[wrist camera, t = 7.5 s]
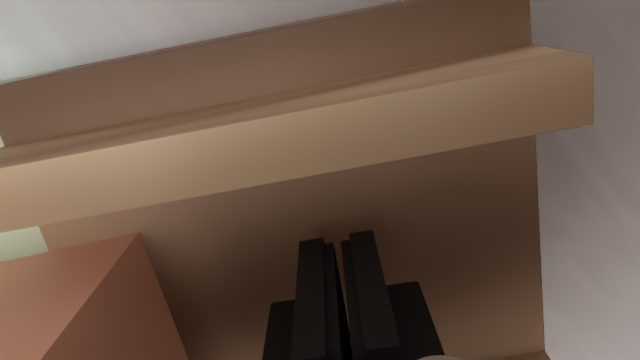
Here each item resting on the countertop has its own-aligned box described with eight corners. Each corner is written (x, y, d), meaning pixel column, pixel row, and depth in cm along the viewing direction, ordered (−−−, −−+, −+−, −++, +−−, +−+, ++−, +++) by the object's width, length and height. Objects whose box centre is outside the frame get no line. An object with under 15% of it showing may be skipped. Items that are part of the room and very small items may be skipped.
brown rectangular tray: (-305, 142, 15) (-721, 234, 9) (470, -13, 14) (592, -27, 8) (-117, 434, 19) (-320, 636, 13) (498, 333, 18) (594, 504, 12)
